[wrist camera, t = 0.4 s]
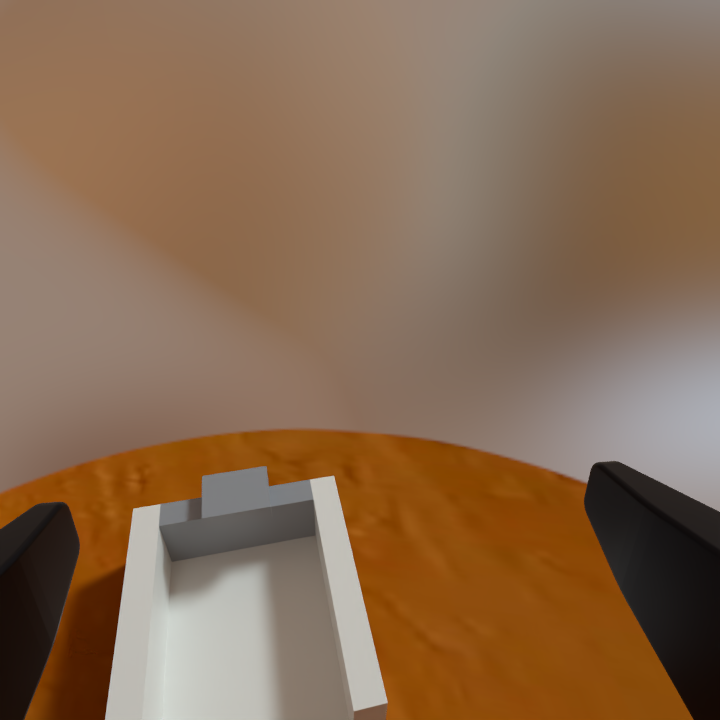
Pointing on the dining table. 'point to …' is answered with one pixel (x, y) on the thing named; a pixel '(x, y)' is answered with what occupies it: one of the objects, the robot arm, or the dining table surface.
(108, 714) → the bracket
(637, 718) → the dining table surface
